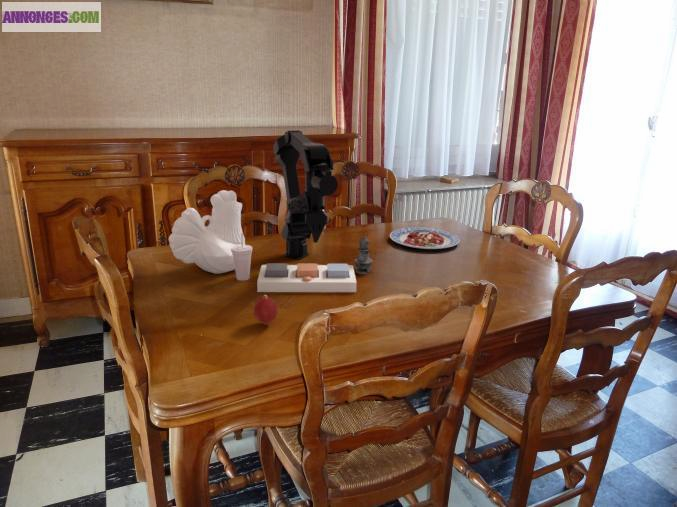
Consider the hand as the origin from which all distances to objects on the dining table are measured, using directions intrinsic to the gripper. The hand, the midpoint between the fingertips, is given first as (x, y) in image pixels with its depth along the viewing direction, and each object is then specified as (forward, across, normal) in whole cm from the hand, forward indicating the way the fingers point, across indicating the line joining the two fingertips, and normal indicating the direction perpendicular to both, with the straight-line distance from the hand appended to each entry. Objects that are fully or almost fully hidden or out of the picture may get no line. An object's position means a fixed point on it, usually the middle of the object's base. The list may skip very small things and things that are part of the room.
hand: (314, 237), depth 161 cm
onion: (+11, +36, -14) cm, 40 cm away
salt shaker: (+11, +1, +16) cm, 19 cm away
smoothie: (+11, +5, -22) cm, 25 cm away
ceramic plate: (+12, -28, +44) cm, 53 cm away
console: (+11, +10, -3) cm, 15 cm away
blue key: (+9, +10, +6) cm, 15 cm away
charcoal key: (+9, +9, -12) cm, 17 cm away
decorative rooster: (+12, -3, -32) cm, 35 cm away
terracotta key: (+9, +9, -3) cm, 13 cm away
